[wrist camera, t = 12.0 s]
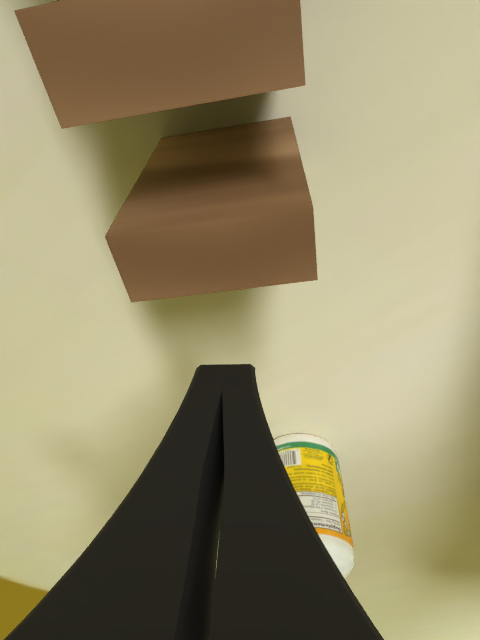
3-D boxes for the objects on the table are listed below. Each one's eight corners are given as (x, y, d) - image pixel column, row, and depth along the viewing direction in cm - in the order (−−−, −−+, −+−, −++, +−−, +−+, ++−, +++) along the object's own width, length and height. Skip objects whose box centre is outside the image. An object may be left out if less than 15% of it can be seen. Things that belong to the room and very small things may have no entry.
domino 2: (294, 169, 17) (317, 280, 11) (174, 187, 18) (131, 302, 12) (290, 116, 16) (312, 207, 10) (161, 138, 17) (104, 236, 10)
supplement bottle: (274, 423, 27) (281, 591, 20) (350, 440, 28) (385, 607, 21) (249, 468, 31) (247, 627, 23) (318, 481, 32) (337, 639, 24)
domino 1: (283, 38, 14) (305, 85, 8) (141, 65, 15) (61, 128, 9) (276, -39, 13) (297, -51, 7) (122, -6, 14) (13, 10, 8)
